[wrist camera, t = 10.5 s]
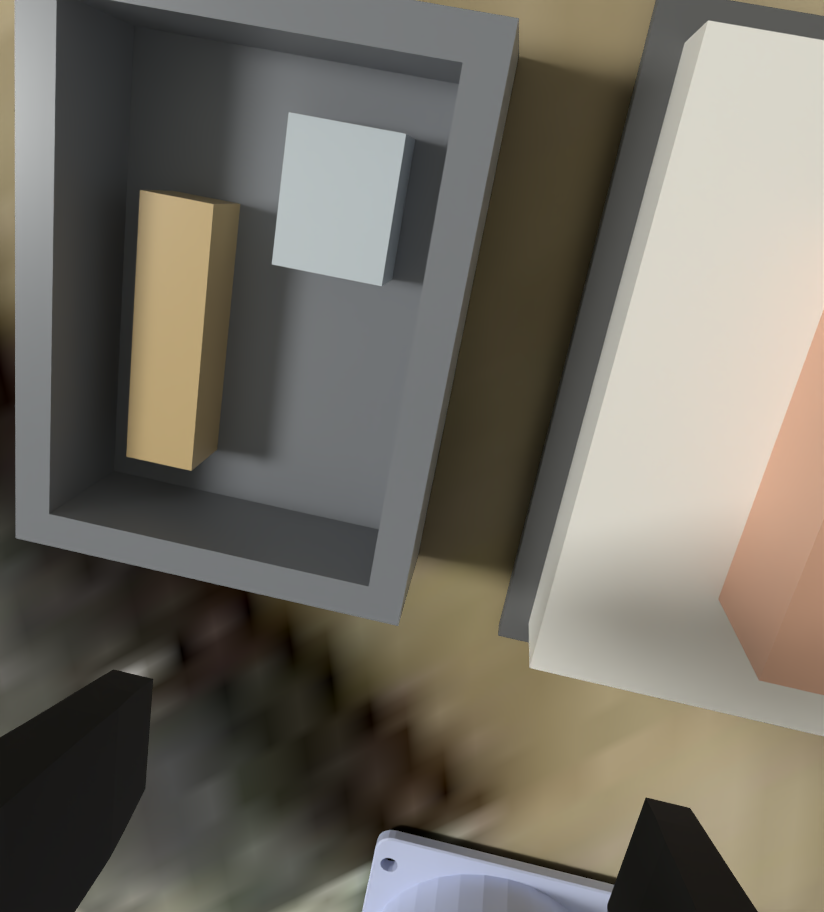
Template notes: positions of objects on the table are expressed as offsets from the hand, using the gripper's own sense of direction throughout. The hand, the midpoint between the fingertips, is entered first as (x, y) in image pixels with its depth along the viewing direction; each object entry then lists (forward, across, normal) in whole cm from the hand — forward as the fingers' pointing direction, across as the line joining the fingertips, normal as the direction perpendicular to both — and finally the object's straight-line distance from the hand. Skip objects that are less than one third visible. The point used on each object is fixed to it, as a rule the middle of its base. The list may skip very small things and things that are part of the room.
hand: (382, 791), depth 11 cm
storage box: (+9, +5, -5) cm, 12 cm away
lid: (+9, -8, -5) cm, 13 cm away
